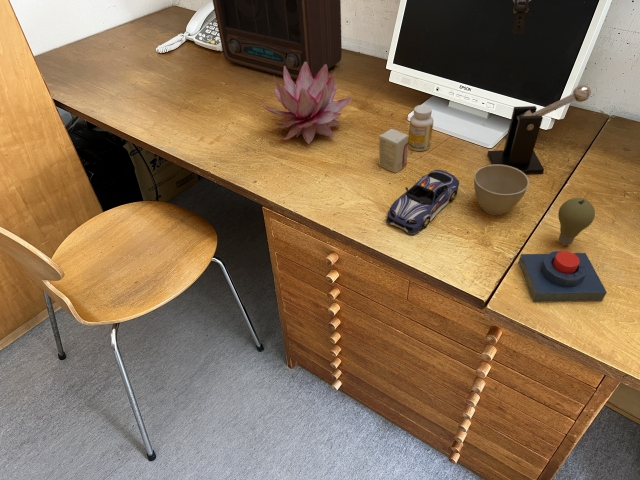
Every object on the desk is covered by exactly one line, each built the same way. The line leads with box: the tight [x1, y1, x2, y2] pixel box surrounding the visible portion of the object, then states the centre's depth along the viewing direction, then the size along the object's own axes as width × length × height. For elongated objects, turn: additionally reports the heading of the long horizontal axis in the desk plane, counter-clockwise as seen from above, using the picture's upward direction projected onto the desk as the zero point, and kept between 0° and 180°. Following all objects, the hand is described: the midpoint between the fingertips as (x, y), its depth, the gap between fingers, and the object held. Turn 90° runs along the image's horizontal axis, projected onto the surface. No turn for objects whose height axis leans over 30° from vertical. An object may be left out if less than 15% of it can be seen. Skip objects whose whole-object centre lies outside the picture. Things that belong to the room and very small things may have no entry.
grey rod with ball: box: [516, 84, 592, 120], centre depth 97 cm, size 14×3×3 cm
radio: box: [212, 0, 343, 80], centre depth 143 cm, size 36×18×30 cm, turn 54°
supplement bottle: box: [408, 104, 434, 152], centre depth 111 cm, size 5×5×10 cm
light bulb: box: [557, 197, 596, 246], centre depth 84 cm, size 6×6×10 cm
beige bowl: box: [473, 164, 530, 216], centre depth 93 cm, size 10×10×7 cm
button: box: [553, 250, 580, 274], centre depth 78 cm, size 4×4×2 cm
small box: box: [378, 128, 409, 174], centre depth 106 cm, size 5×4×8 cm
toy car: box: [385, 169, 460, 235], centre depth 96 cm, size 8×18×5 cm, turn 139°
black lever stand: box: [487, 105, 545, 175], centre depth 102 cm, size 10×8×13 cm
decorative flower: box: [260, 62, 353, 145], centre depth 117 cm, size 21×21×15 cm
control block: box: [517, 250, 608, 303], centre depth 80 cm, size 11×9×4 cm
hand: (518, 28), depth 97 cm, fingers open, 8 cm apart
